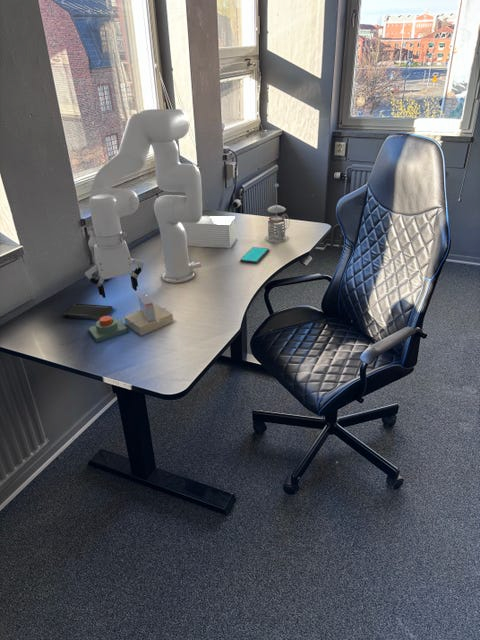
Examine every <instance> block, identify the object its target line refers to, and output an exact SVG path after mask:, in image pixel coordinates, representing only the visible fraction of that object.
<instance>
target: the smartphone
mask: <svg viewBox="0 0 480 640" xmlns="http://www.w3.org/2000/svg"><path fill="white" fill-rule="evenodd" d="M269 250H270V249H269V247H268V248H266V247H257V246H256V247H255V246H253V247H251V248H250V249H249V251H247V252H246V253H245V255H243V256H242V257H241V258H240V262H241V263H242V262H243V263H250V264H258V263H259V262H260V261H261V260H262V258H264V257H265V255H267V253H269Z"/></svg>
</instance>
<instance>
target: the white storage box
mask: <svg viewBox="0 0 480 640" xmlns="http://www.w3.org/2000/svg"><path fill="white" fill-rule="evenodd" d="M181 224H182V225H183V227H184V229H185V231H186V237H187V246H188V247H202V248H220V249H221V248H222V249H231V248H232V246H233V245H234V244H235V242H236V241H237V227H236V216H219V215H218V216H215V215H214V216H213V215H202V217H201V219H200V221H199V222H197V223H181Z"/></svg>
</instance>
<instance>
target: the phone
mask: <svg viewBox="0 0 480 640" xmlns="http://www.w3.org/2000/svg"><path fill="white" fill-rule="evenodd" d="M113 311H114V307H113V306H112V305H104V304H103V305H100V304H89V303H88V304H87V303H74V304H72V305H71V306H70V307H69V308H68V309H67V310H65V312H64V313H63V315H64V317H65V318H70V319H84V320H96V321H98V320H100V318H101V317H103V316H110V314H112V312H113Z"/></svg>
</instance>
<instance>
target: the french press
mask: <svg viewBox="0 0 480 640" xmlns="http://www.w3.org/2000/svg"><path fill="white" fill-rule="evenodd" d="M273 187H275V192H276V193H275V205H272V206H270V207H268V208H267V212H268V213H272V214H275V215H271V216H269V217H268V221H267V227H268V228H267V236H266V238H265V240H266V241H267V242H269V243H277V244H278V243H284V242H286V241H288V237H287V236H286V230H287V228H289V227H290V225H288V223H290V218H289V216H288V215H287V213H284V212H285V211H286V210H287V208H285V207H284V206H282V205H279V204H278V196H277V195H278V191H277V188H278V187H280V185H279V183H275V184H274V185H273ZM280 213H283V214H282V215H278V214H280ZM286 217H287V218H286ZM287 219H288V220H287Z"/></svg>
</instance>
